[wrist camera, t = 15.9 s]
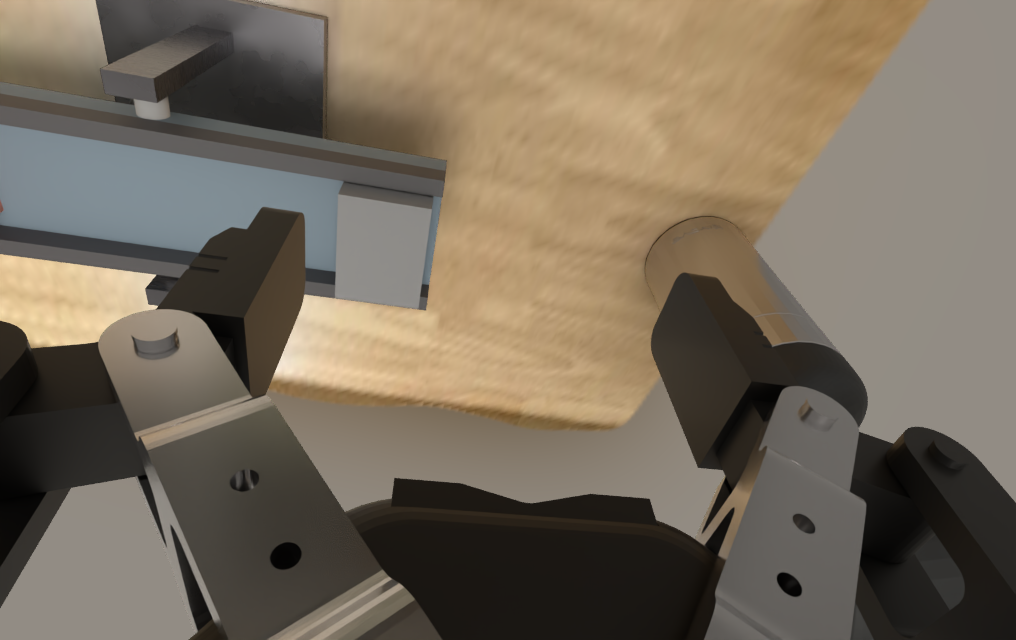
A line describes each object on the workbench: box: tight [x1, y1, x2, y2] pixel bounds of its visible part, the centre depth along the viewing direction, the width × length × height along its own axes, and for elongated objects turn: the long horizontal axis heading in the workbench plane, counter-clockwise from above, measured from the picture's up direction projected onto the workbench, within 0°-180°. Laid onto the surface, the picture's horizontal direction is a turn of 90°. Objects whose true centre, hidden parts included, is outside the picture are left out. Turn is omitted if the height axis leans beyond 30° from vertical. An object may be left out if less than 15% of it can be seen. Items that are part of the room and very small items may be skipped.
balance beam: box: [0, 82, 447, 310], centre depth 32 cm, size 32×11×5 cm, turn 78°
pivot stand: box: [96, 0, 328, 306], centre depth 37 cm, size 14×18×13 cm
